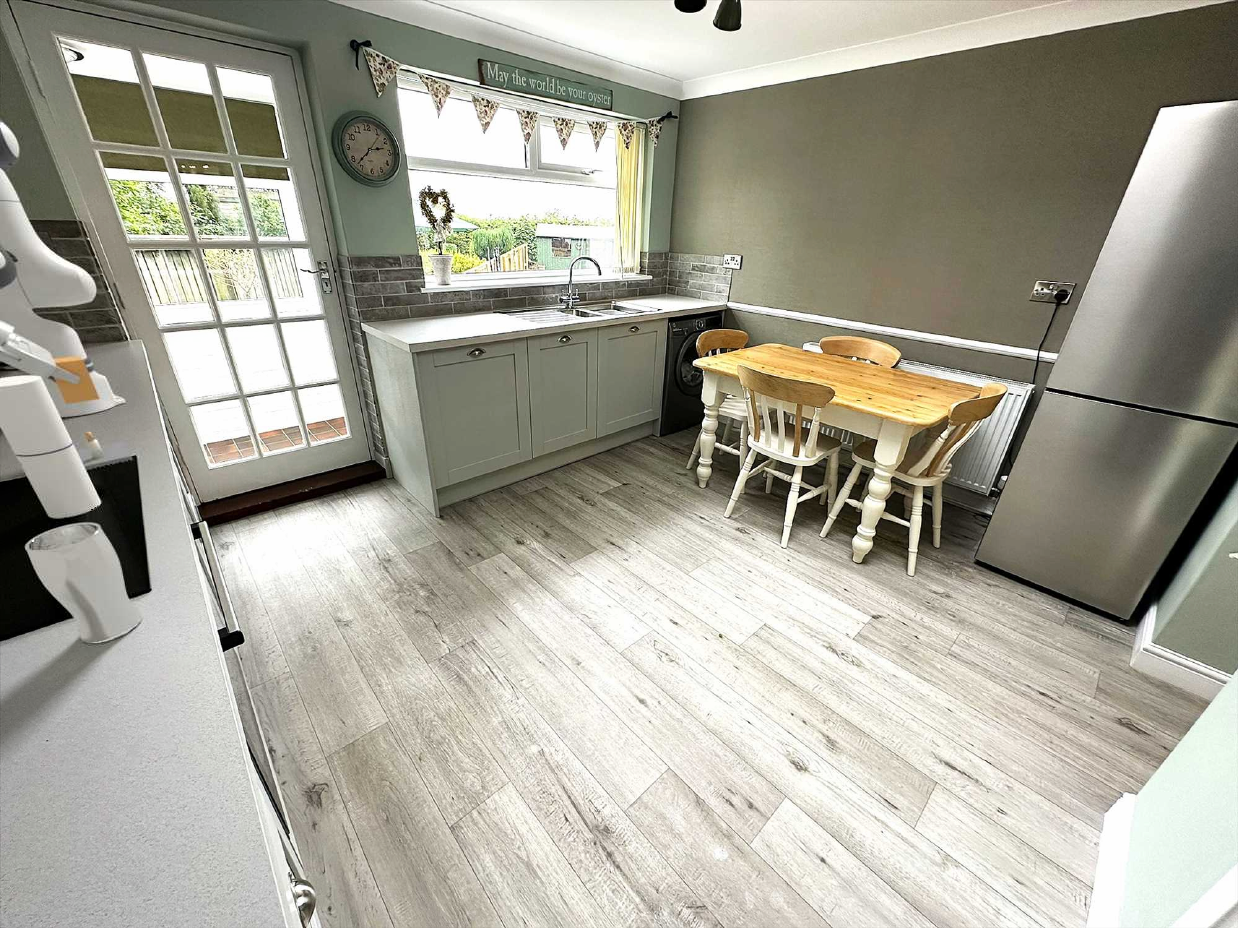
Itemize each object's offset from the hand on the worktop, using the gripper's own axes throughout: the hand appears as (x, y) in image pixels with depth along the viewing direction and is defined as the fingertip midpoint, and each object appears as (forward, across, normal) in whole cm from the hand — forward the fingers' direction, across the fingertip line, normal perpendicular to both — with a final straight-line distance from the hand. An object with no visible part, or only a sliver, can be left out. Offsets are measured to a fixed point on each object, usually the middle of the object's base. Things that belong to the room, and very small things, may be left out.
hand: (76, 378), depth 111 cm
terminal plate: (+11, -6, +14) cm, 18 cm away
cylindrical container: (+7, -32, +19) cm, 37 cm away
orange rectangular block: (+3, 0, +4) cm, 5 cm away
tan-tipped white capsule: (+11, -8, +14) cm, 19 cm away
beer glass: (+8, -78, +20) cm, 80 cm away
